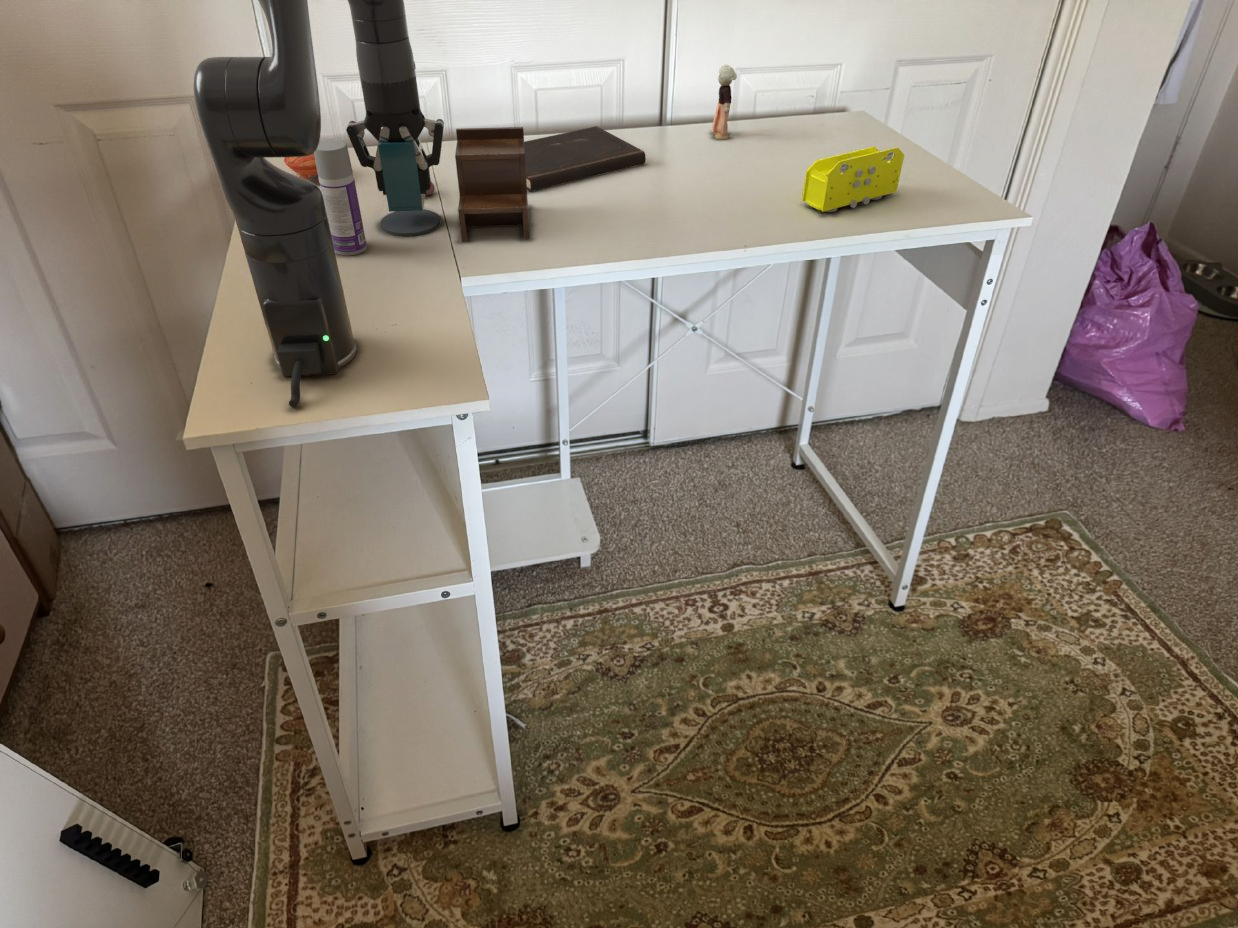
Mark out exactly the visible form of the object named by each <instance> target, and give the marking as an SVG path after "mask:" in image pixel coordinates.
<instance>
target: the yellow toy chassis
mask: <svg viewBox="0 0 1238 928" xmlns="http://www.w3.org/2000/svg"><path fill="white" fill-rule="evenodd" d="M904 159H905V153H903V152H902V150H901V148H899V147H898V146H896V147H892V148H887V149H884V150H879V149H878V148H877V147H876V146H870V147H866V148H862V149H858V150H854V151H850V152H849V151H848V152H845V153H841V154H837V155H832V156H829V157H824V158H820V159H816V160H815V161H814V162H813V163H812V164H811V165H810V166H809V167H808V168H807V169H806V171H805V177H804V183H803V189H802V197H801V202H806V204H807V205H808V206H810V207H811V208H814V209H816V210H817V211H821V212H822V213H824V212H825V213H834V212H837V211H838V208H842V207H846V206H849V207H850V208H852V209H854V208H856V207H857V205H858V203H860V202H862V203H863V204H864V205H867V204H869V203H870V201H871V200H872V201H877V200H881V199H882V198H883V196H886V195H889V194H894V193H897V191H898V186H899V181H900V177H901V172H902V168H903V164H904Z"/></svg>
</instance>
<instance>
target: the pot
mask: <svg viewBox="0 0 1238 928" xmlns="http://www.w3.org/2000/svg"><path fill="white" fill-rule="evenodd" d="M283 162H284V164H285V165H286V166H287V168H289V169H290V170H292V171H293V172H294V173H296V174H298V175H299V177H301V178H304V179H306V180H309V177H312V176H314V177H315V176H318V172H317V167H316V162H315V156H314V153H313V154H312V155H310V156H305V157H283Z"/></svg>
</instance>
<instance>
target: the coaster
mask: <svg viewBox="0 0 1238 928" xmlns="http://www.w3.org/2000/svg"><path fill="white" fill-rule="evenodd" d="M441 223H442V221H441V216H440V215H439V214H438V213H437V212H435V211H433V210H430V209H426V208H425V209H424V208H423V210H421V211H392V212H390V213H388V214H386V215H385V216H383V218H382V219H381V220H380V228H381V229H382V231H384V232H385V233H387V234H389V235H392V236H396V237H397V236H398V237H416V236H421V235H425V234H428V233H431V232H432V231H435V230H436V229H437V228H439V226H441Z"/></svg>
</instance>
